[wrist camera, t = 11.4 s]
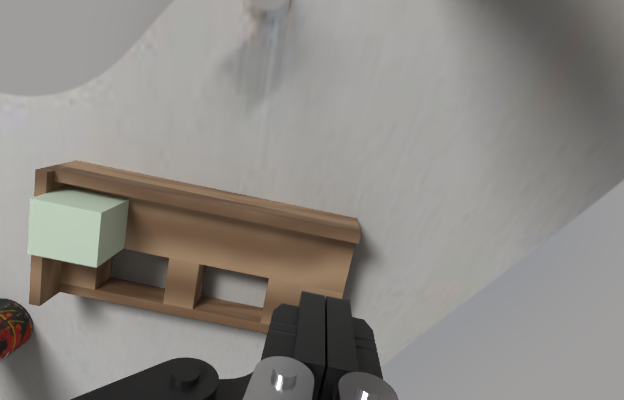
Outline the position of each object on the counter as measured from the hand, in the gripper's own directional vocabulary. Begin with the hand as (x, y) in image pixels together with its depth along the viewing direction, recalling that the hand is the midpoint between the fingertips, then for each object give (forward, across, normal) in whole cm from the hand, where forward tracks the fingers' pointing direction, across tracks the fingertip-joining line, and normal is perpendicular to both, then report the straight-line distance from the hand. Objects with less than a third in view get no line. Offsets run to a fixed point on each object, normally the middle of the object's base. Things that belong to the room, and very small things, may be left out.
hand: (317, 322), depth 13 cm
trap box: (+29, +10, +10) cm, 32 cm away
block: (+26, +20, +8) cm, 34 cm away
